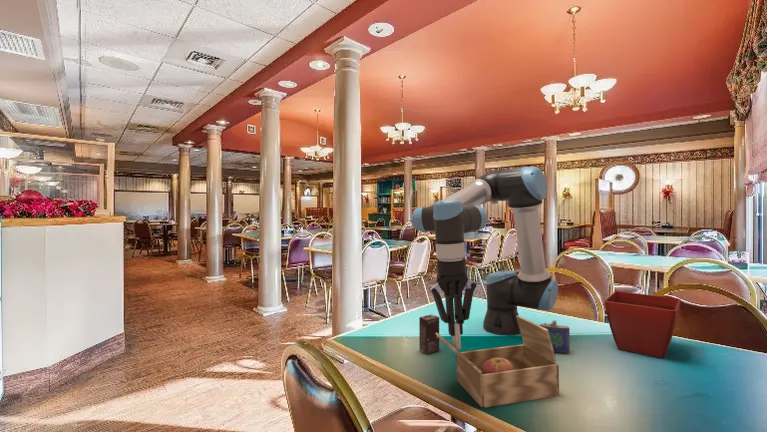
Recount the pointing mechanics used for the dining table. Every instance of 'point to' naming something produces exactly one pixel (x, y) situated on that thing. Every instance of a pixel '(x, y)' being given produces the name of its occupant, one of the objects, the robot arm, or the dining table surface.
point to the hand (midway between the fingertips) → (456, 347)
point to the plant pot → (642, 322)
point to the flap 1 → (457, 352)
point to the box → (428, 333)
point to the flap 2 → (536, 338)
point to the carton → (508, 376)
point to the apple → (497, 366)
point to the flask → (559, 337)
